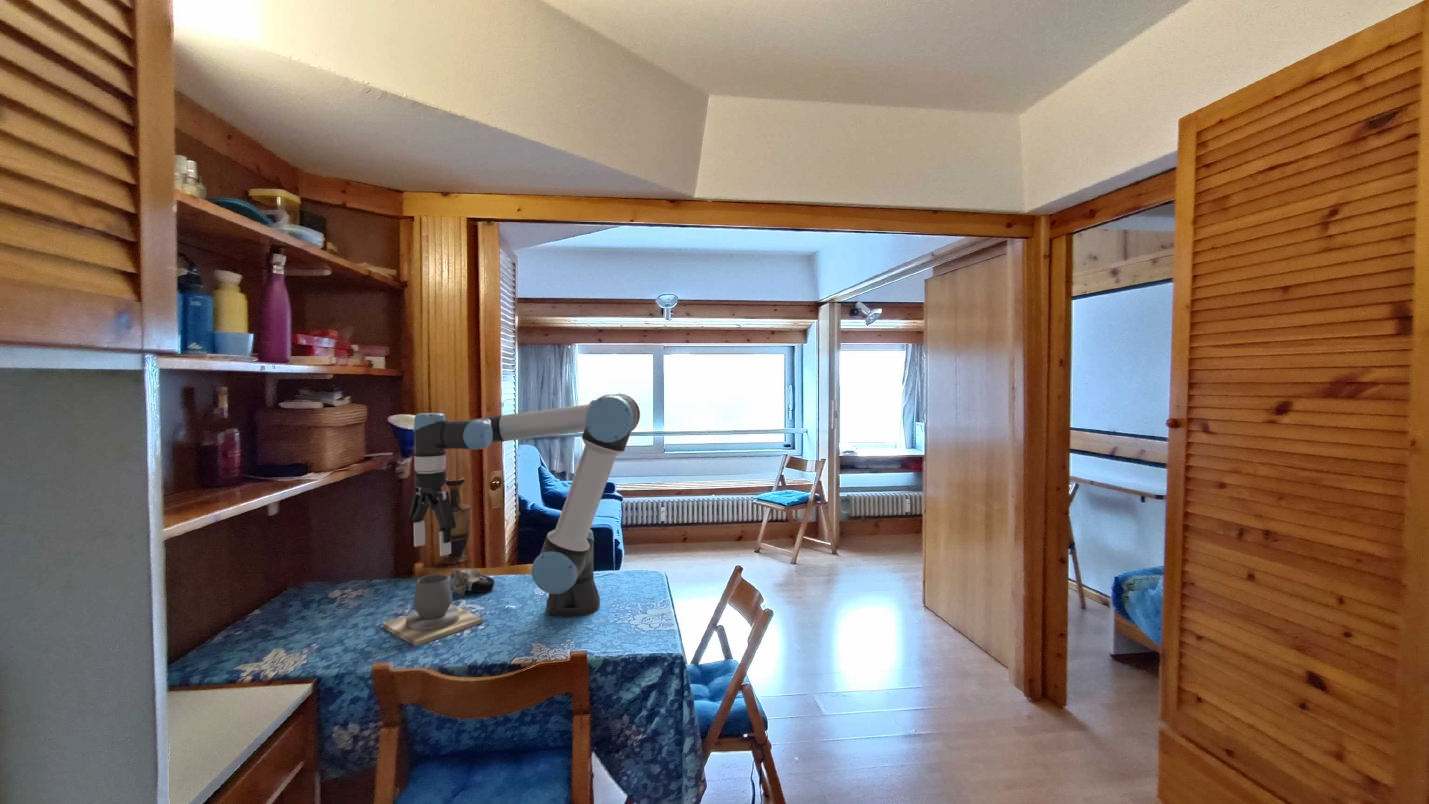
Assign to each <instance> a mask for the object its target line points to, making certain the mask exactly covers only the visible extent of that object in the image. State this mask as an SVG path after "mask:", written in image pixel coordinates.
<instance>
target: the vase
mask: <svg viewBox="0 0 1429 804" xmlns="http://www.w3.org/2000/svg"><path fill="white" fill-rule="evenodd" d="M451 478H452V477H448V478H447V477H446V484H445V485H446V486H447V487H448V489H449V500H450V504H451V508H452V512H453V515H454V519H455V523H456V528H453V529H451V554H448V555H446V556H444V557H443V558H442V563H443V564H445V565H458V564H462V563H464V562H465V563H466V562H467V561H468V559H469V556H468V555H466V554H463V553H464V551H465V548H466V547H467V546H466V545H467V544H468V540H469V535H470V530H471V529H470V525H471V509H472V507H471V505H470V504H466V503H463V502H462V501H461V495H460V493H461V491H460V490H461V486H462V485H463V483H464V482H465V480H466V478H465V477H463V478H460V479H457V480H450V479H451ZM462 554H463V555H462Z"/></svg>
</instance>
